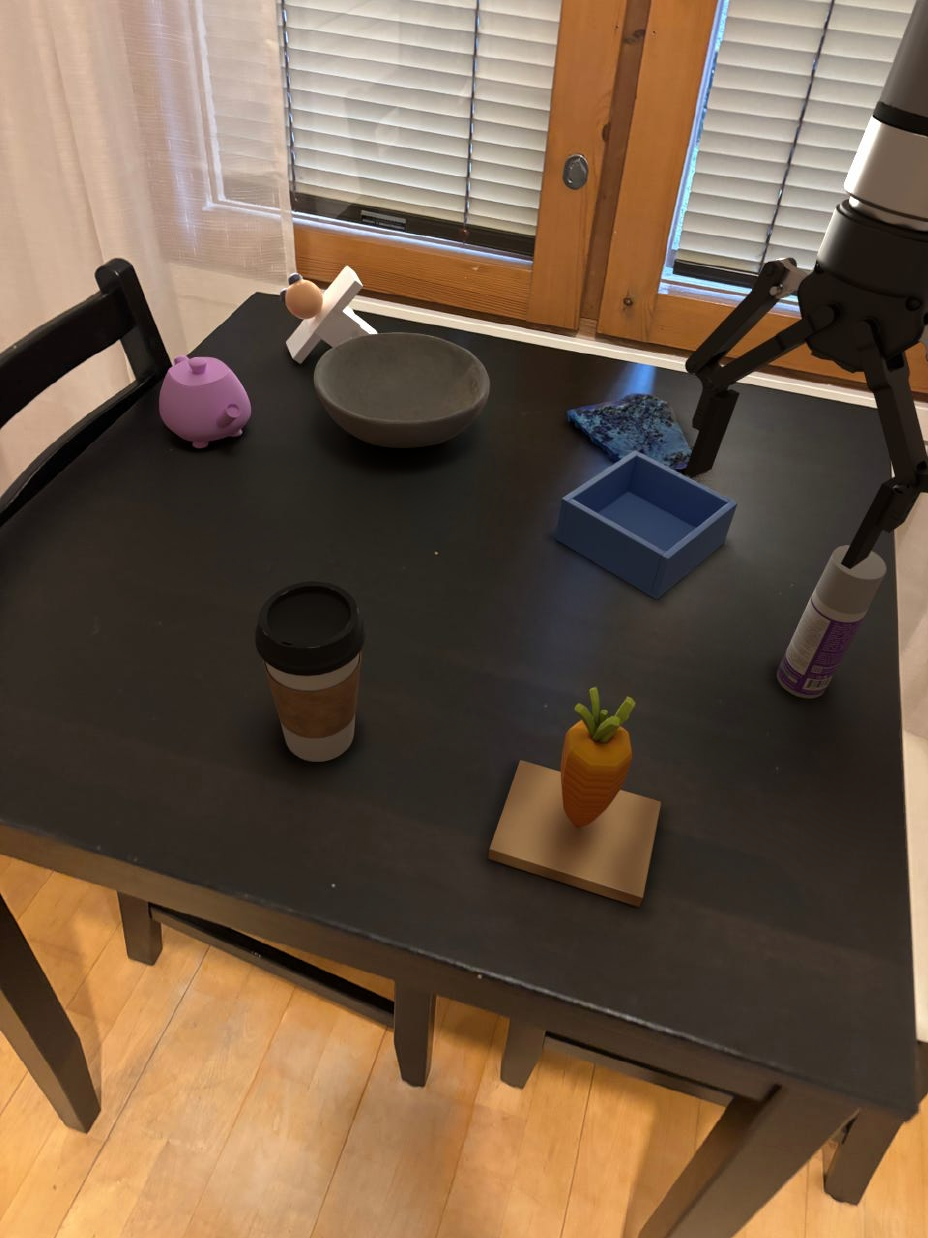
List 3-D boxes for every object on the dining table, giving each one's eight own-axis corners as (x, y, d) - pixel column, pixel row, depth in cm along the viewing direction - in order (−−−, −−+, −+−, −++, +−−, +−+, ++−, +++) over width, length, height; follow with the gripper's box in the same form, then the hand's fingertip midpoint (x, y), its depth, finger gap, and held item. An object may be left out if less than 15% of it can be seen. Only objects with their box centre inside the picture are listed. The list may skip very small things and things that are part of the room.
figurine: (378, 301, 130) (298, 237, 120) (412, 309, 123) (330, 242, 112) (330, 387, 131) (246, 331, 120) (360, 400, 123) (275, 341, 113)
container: (829, 672, 85) (891, 554, 75) (822, 705, 82) (885, 587, 72) (781, 656, 87) (835, 537, 76) (772, 688, 84) (827, 569, 73)
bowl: (485, 391, 119) (490, 336, 114) (485, 482, 105) (490, 424, 99) (329, 382, 119) (325, 326, 113) (306, 472, 104) (301, 412, 98)
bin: (724, 542, 99) (738, 502, 95) (656, 600, 92) (668, 559, 88) (626, 489, 105) (635, 449, 101) (554, 538, 98) (561, 498, 94)
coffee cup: (252, 757, 74) (230, 633, 64) (297, 687, 80) (283, 562, 70) (344, 787, 73) (336, 664, 62) (383, 712, 79) (381, 589, 68)
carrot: (538, 837, 69) (564, 715, 58) (558, 789, 72) (586, 665, 62) (598, 861, 68) (636, 740, 57) (616, 811, 71) (655, 688, 60)
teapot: (222, 394, 115) (211, 326, 109) (280, 448, 107) (273, 378, 101) (146, 417, 110) (130, 348, 104) (201, 476, 102) (188, 405, 96)
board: (657, 812, 73) (661, 801, 72) (639, 907, 67) (643, 898, 66) (518, 770, 75) (520, 759, 74) (487, 859, 69) (489, 849, 68)
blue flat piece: (660, 399, 120) (662, 386, 119) (717, 472, 109) (721, 459, 108) (559, 411, 117) (560, 398, 116) (607, 487, 106) (610, 474, 104)
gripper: (1145, 277, 48) (952, 585, 61) (759, 150, 60) (668, 428, 74) (1105, 297, 43) (906, 623, 57) (696, 155, 56) (612, 450, 69)
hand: (771, 514), depth 65 cm, fingers open, 13 cm apart
